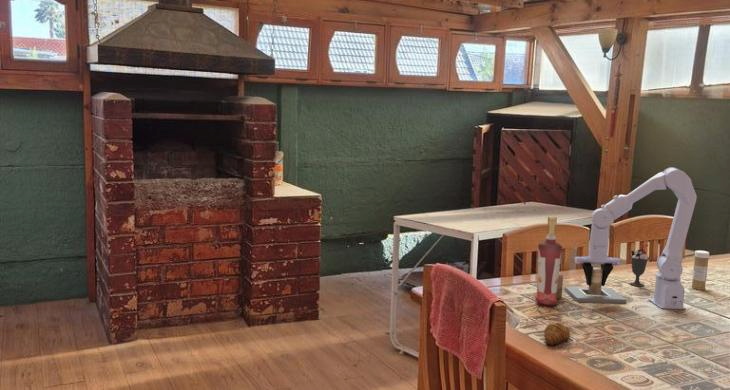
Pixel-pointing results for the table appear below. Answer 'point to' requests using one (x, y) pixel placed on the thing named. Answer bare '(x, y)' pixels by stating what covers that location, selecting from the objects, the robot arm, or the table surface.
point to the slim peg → (596, 281)
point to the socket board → (607, 297)
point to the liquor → (548, 266)
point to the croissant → (556, 334)
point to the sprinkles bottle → (700, 270)
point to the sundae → (638, 264)
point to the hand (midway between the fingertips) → (595, 285)
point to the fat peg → (559, 286)
